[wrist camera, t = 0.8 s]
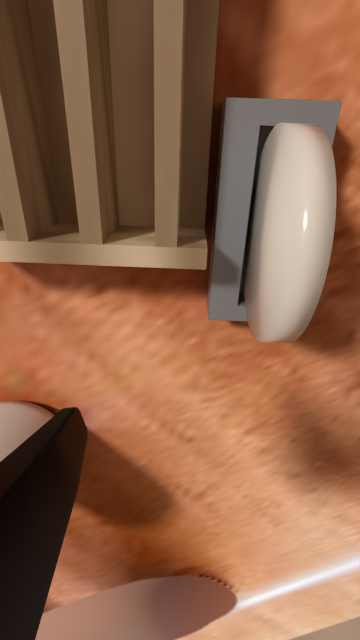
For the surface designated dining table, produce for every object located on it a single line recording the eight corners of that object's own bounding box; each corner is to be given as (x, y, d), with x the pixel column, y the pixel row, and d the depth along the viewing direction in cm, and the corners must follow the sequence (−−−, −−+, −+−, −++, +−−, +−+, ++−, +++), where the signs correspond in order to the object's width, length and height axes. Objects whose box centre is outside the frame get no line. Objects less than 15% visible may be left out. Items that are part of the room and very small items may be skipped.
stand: (322, 106, 17) (342, 101, 14) (282, 304, 22) (293, 323, 20) (221, 103, 17) (226, 97, 14) (206, 301, 22) (208, 319, 20)
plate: (283, 127, 16) (367, 115, 9) (257, 293, 21) (298, 387, 13) (259, 127, 16) (321, 113, 9) (238, 292, 21) (267, 385, 13)
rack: (236, -280, 11) (264, -545, 7) (203, 241, 20) (206, 269, 16) (-166, -287, 12) (-386, -550, 7) (-28, 232, 20) (-89, 257, 16)
